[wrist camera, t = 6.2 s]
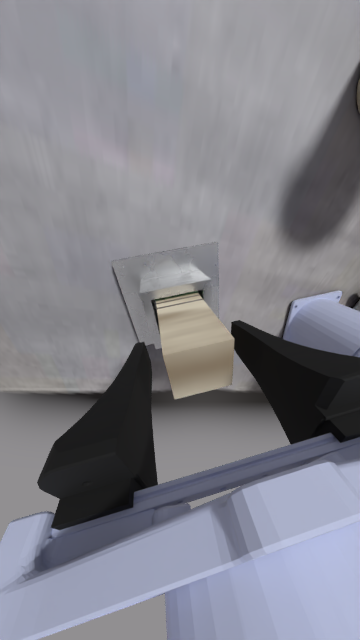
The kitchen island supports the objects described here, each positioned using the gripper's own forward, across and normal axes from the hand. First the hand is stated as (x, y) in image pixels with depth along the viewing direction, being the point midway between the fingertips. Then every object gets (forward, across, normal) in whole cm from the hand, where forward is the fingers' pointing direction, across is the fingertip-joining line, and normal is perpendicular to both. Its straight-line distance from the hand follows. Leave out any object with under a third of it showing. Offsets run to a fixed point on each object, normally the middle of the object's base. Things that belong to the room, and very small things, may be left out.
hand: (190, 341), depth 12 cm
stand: (+9, 0, 0) cm, 9 cm away
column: (+6, 0, 0) cm, 6 cm away
